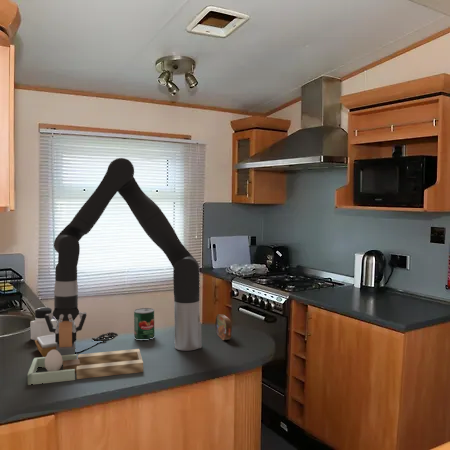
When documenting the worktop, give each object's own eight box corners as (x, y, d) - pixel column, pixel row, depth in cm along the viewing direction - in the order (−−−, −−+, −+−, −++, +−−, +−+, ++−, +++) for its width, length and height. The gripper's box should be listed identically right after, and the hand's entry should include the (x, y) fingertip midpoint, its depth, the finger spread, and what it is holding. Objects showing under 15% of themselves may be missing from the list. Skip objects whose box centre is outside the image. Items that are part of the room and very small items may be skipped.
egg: (65, 369, 148) (64, 346, 147) (59, 375, 142) (59, 352, 142) (48, 369, 147) (47, 347, 147) (42, 376, 142) (41, 352, 142)
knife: (75, 356, 161) (75, 352, 161) (61, 353, 164) (61, 350, 164) (121, 336, 184) (121, 333, 184) (108, 334, 187) (108, 331, 187)
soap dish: (70, 354, 162) (70, 340, 162) (41, 360, 157) (40, 345, 157) (62, 345, 173) (62, 332, 173) (34, 350, 168) (34, 336, 168)
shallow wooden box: (139, 357, 158) (139, 348, 158) (143, 371, 145) (143, 362, 145) (78, 363, 153) (78, 354, 153) (76, 379, 140) (76, 369, 139)
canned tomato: (146, 342, 175) (145, 313, 175) (130, 339, 179) (129, 311, 178) (158, 336, 182) (158, 309, 182) (143, 333, 186) (142, 307, 185)
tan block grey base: (75, 343, 162) (75, 318, 157) (74, 355, 157) (74, 329, 152) (57, 344, 160) (56, 319, 156) (56, 356, 155) (55, 330, 150)
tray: (76, 362, 153) (76, 354, 153) (74, 380, 139) (74, 370, 139) (34, 367, 150) (34, 358, 150) (27, 385, 135) (27, 375, 135)
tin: (214, 332, 188) (214, 311, 187) (222, 331, 189) (222, 311, 188) (225, 343, 173) (225, 321, 173) (233, 342, 174) (233, 320, 174)
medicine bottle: (57, 337, 182) (56, 307, 181) (41, 342, 176) (41, 311, 175) (46, 334, 186) (45, 305, 185) (30, 339, 180) (29, 309, 179)
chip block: (79, 367, 150) (79, 358, 149) (80, 373, 145) (79, 363, 145) (63, 369, 148) (62, 360, 148) (63, 375, 143) (62, 366, 143)
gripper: (88, 290, 162) (87, 338, 162) (44, 291, 158) (44, 341, 158) (88, 294, 154) (87, 345, 155) (42, 296, 150) (42, 348, 151)
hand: (65, 343), depth 157 cm, fingers closed on tan block grey base, 4 cm apart
